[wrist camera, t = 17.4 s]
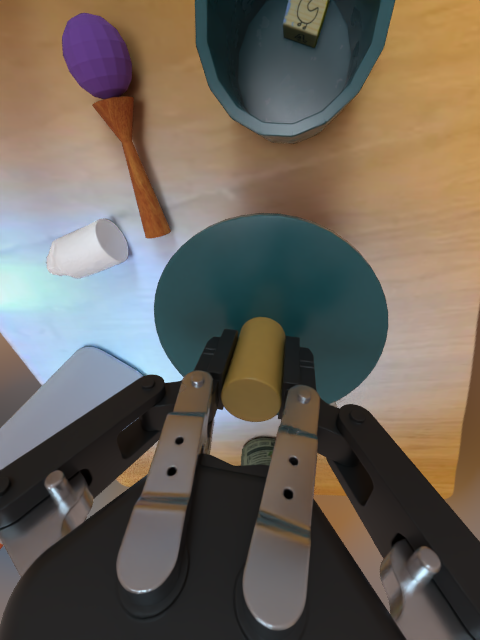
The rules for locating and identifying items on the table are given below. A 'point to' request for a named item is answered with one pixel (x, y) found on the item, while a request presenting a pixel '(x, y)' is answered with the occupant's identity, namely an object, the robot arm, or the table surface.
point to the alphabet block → (304, 20)
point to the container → (287, 62)
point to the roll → (88, 250)
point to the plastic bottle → (64, 400)
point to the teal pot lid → (272, 307)
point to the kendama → (112, 99)
